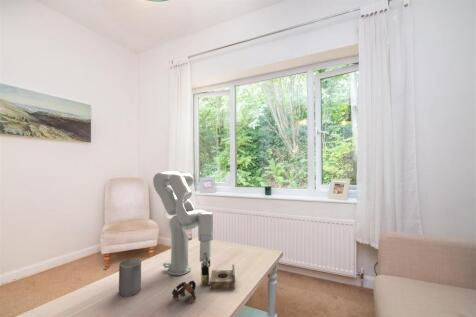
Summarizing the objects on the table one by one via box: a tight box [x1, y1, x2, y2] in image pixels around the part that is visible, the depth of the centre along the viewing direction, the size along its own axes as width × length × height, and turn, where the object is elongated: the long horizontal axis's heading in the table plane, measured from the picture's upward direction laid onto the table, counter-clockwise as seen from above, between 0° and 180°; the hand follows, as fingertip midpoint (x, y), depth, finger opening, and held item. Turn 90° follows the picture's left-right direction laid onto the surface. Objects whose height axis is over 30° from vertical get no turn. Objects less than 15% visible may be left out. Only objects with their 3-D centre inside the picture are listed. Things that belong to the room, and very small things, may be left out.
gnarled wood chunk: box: [171, 280, 197, 305], centre depth 107 cm, size 12×10×8 cm
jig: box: [209, 264, 236, 290], centre depth 121 cm, size 12×12×6 cm
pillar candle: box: [118, 258, 142, 298], centre depth 112 cm, size 10×10×15 cm
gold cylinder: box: [200, 262, 210, 287], centre depth 119 cm, size 4×4×10 cm
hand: (206, 270), depth 119 cm, fingers open, 9 cm apart
